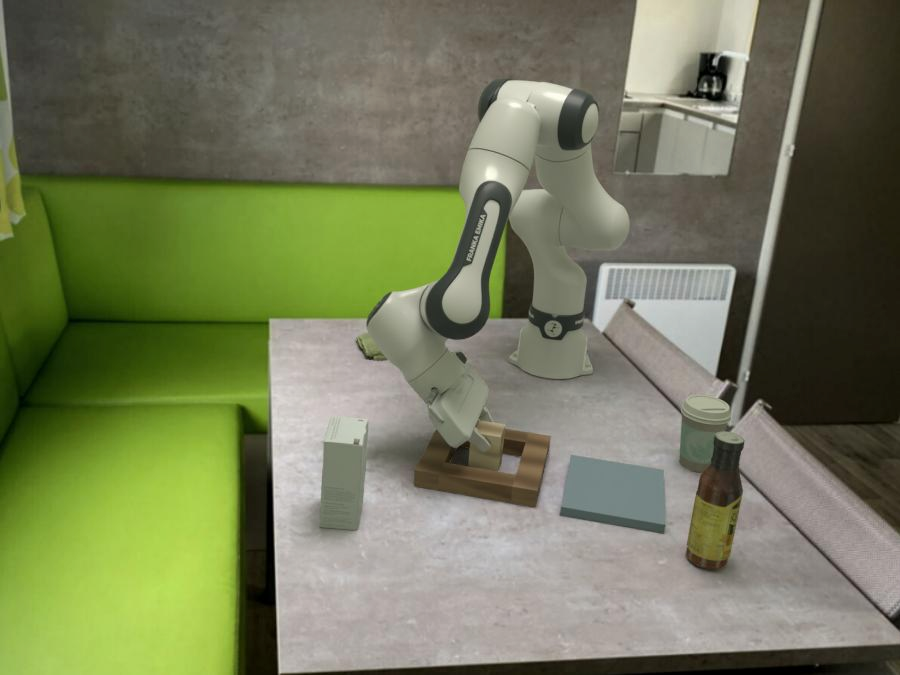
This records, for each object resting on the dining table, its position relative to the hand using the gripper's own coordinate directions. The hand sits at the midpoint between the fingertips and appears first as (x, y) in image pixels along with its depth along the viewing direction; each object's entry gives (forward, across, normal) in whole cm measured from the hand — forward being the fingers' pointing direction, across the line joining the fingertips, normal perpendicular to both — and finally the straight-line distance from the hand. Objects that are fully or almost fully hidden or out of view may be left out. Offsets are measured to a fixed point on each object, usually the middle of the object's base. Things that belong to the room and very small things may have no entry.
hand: (491, 439), depth 147 cm
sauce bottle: (+29, -16, -21) cm, 39 cm away
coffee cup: (+29, +14, -21) cm, 38 cm away
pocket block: (+3, 0, +4) cm, 5 cm away
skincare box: (-9, -22, +17) cm, 29 cm away
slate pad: (+19, -2, -11) cm, 22 cm away
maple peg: (+3, 0, +4) cm, 5 cm away
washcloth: (-16, +48, +25) cm, 56 cm away
